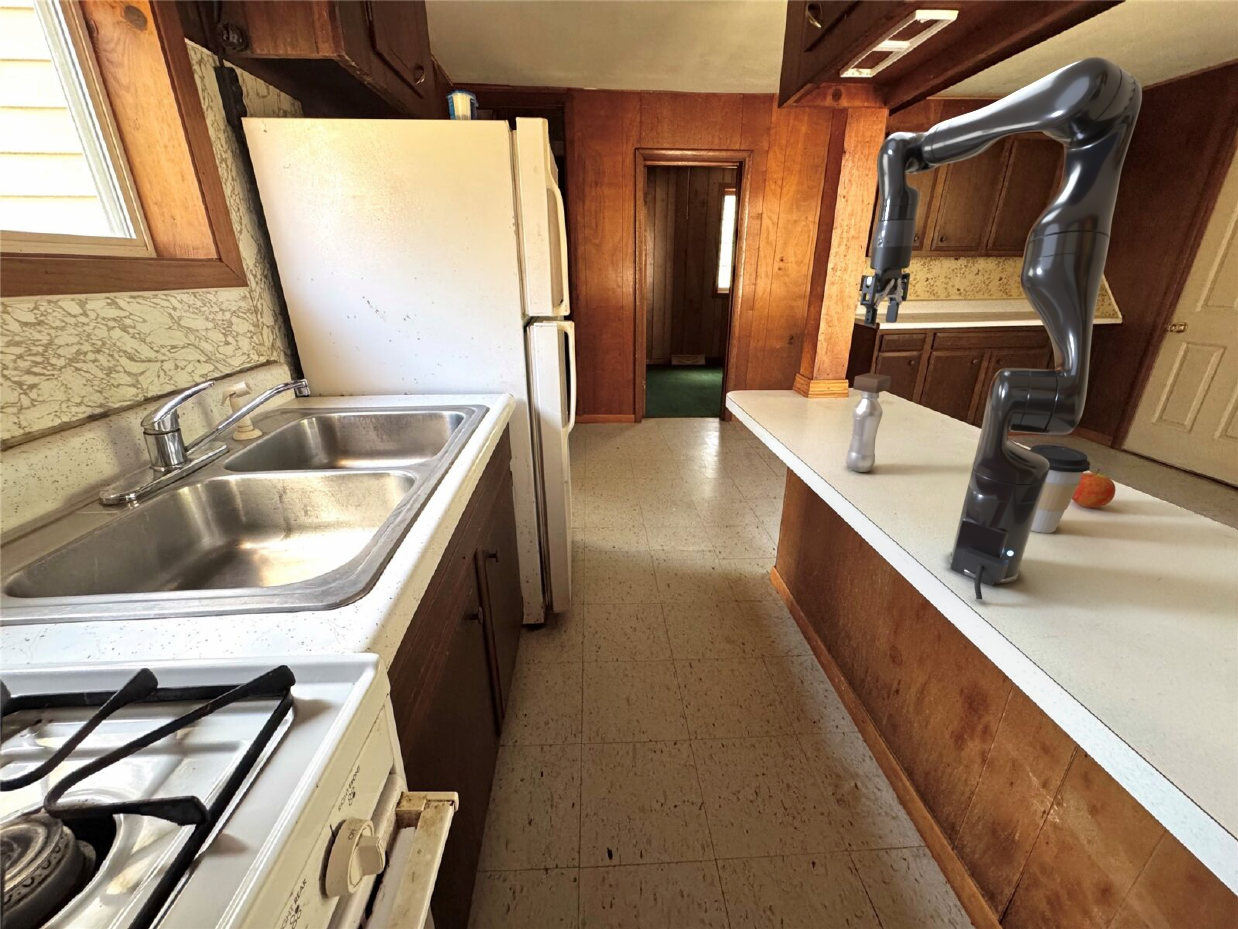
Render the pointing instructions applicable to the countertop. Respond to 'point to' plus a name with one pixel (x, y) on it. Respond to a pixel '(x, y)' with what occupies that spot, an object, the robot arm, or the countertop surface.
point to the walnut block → (872, 383)
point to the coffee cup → (1058, 484)
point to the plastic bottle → (864, 433)
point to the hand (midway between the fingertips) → (880, 324)
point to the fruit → (1094, 490)
